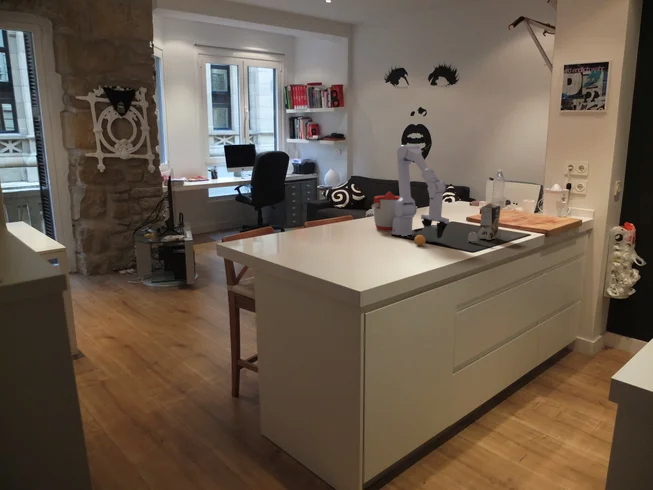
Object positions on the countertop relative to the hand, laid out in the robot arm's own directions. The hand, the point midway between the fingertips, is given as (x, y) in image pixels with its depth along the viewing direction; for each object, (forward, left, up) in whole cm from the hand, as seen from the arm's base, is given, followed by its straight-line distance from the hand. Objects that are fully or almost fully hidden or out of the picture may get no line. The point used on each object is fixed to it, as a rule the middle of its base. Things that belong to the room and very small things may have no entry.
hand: (433, 236), depth 238 cm
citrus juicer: (-35, +6, -3) cm, 36 cm away
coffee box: (+11, +29, -3) cm, 31 cm away
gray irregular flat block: (+13, +15, -3) cm, 20 cm away
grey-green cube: (0, 0, -1) cm, 1 cm away
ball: (0, -10, 0) cm, 10 cm away
